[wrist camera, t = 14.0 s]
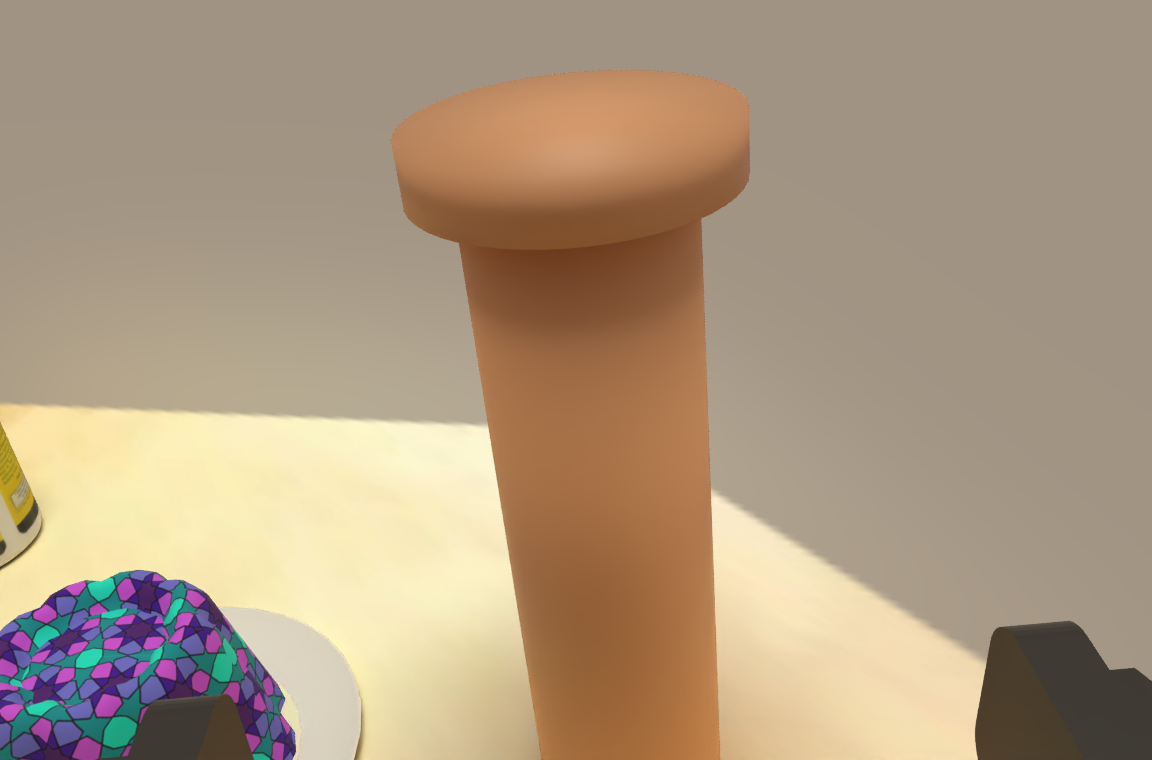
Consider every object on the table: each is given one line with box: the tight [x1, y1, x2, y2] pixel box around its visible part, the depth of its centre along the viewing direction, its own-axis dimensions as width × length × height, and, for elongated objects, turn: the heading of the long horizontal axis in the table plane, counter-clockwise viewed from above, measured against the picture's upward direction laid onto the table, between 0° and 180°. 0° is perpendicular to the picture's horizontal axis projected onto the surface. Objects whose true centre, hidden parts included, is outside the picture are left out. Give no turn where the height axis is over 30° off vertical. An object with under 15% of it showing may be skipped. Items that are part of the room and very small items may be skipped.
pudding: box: [0, 570, 361, 760], centre depth 28 cm, size 12×12×5 cm
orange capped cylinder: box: [391, 70, 750, 760], centre depth 23 cm, size 6×6×17 cm
